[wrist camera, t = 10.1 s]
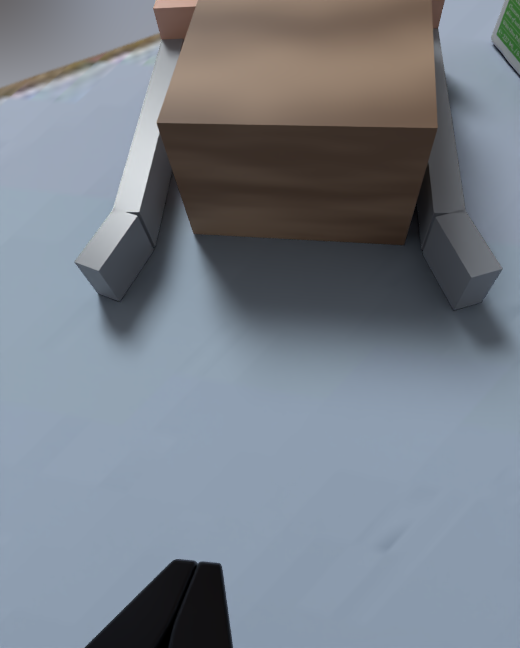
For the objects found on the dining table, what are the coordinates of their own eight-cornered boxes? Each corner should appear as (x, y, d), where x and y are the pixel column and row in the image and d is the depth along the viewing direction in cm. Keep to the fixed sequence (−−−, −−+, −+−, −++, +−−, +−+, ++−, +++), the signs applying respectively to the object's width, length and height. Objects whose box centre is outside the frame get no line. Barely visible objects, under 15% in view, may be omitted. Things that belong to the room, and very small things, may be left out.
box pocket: (482, 311, 24) (522, 251, 20) (95, 301, 26) (52, 245, 22) (443, 58, 33) (464, -21, 29) (160, 67, 36) (139, -4, 31)
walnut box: (403, 247, 26) (437, 127, 19) (194, 236, 28) (156, 122, 21) (403, 83, 33) (428, -52, 26) (232, 82, 34) (213, -45, 27)
